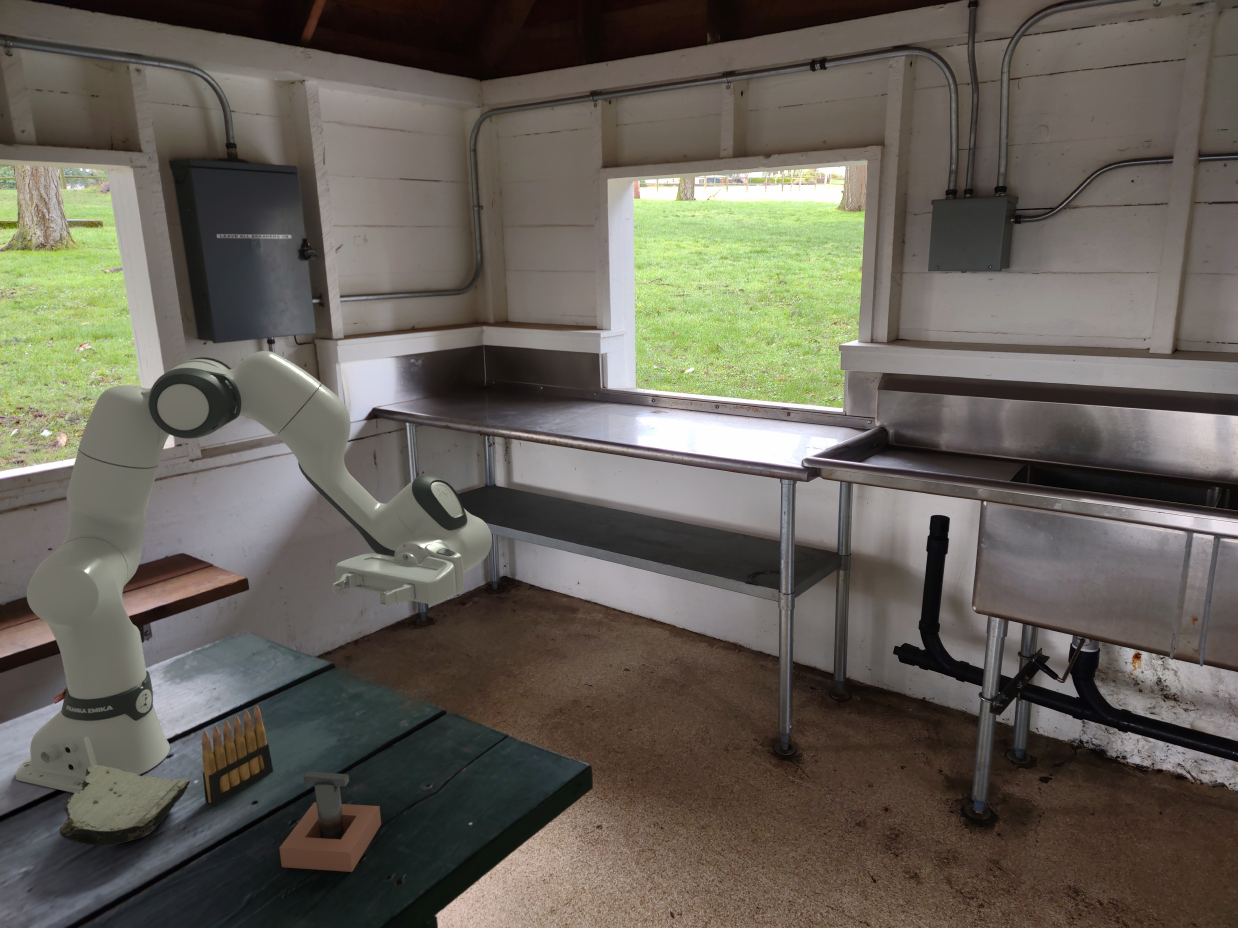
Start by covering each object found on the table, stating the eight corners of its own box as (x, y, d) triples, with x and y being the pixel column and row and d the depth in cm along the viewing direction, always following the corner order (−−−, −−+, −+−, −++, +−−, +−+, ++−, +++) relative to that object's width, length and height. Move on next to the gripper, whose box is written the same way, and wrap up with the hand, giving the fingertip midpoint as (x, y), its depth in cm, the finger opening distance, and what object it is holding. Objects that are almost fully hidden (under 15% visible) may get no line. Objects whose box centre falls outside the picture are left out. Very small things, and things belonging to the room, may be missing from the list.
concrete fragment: (203, 780, 131) (158, 779, 117) (174, 852, 127) (124, 860, 113) (114, 757, 132) (58, 753, 118) (83, 828, 128) (22, 833, 114)
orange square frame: (281, 866, 115) (279, 847, 114) (316, 820, 125) (314, 802, 124) (352, 871, 114) (350, 852, 113) (381, 823, 124) (379, 805, 123)
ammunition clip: (212, 806, 129) (202, 735, 126) (205, 802, 130) (194, 731, 127) (273, 771, 137) (265, 703, 135) (266, 767, 138) (257, 700, 136)
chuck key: (307, 850, 118) (299, 780, 116) (318, 835, 121) (311, 766, 119) (348, 853, 117) (341, 783, 115) (358, 838, 120) (351, 770, 118)
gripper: (370, 539, 141) (306, 565, 130) (469, 555, 132) (410, 585, 120) (373, 574, 143) (310, 603, 131) (472, 593, 134) (414, 626, 122)
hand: (359, 595), depth 126 cm, fingers open, 8 cm apart
